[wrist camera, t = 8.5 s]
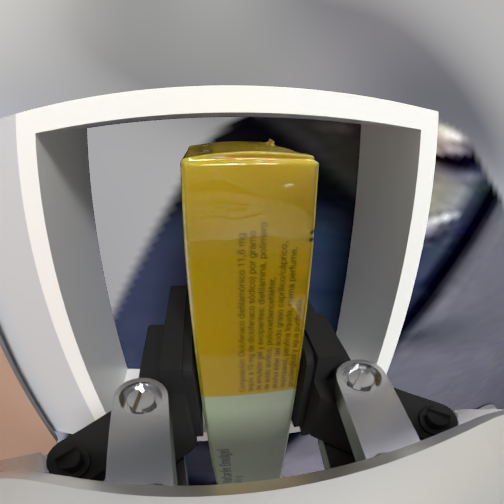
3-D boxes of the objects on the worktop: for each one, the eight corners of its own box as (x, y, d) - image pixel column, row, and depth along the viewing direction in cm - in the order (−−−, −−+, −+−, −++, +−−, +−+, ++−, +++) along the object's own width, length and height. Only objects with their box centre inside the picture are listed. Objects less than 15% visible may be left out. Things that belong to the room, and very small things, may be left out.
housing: (375, 110, 13) (438, 111, 9) (341, 363, 19) (369, 416, 15) (5, 128, 11) (-56, 139, 7) (64, 374, 17) (42, 428, 12)
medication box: (265, 415, 14) (282, 485, 10) (208, 420, 13) (214, 492, 10) (278, 139, 9) (326, 152, 5) (185, 140, 9) (168, 153, 5)
